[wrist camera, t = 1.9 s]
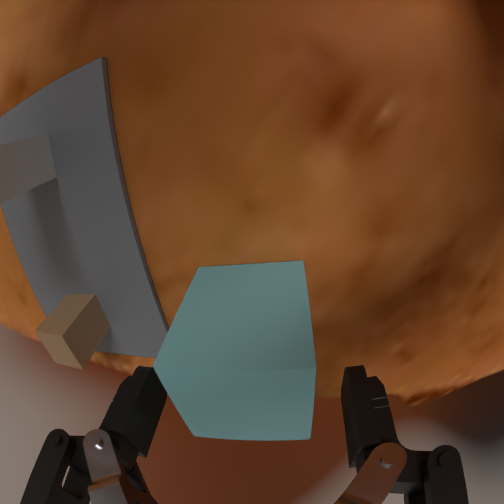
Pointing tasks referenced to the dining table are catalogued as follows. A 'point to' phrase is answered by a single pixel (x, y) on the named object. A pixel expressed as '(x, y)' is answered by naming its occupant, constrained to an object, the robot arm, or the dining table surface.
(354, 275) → the dining table surface
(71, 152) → the stand
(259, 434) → the teal rectangular block
